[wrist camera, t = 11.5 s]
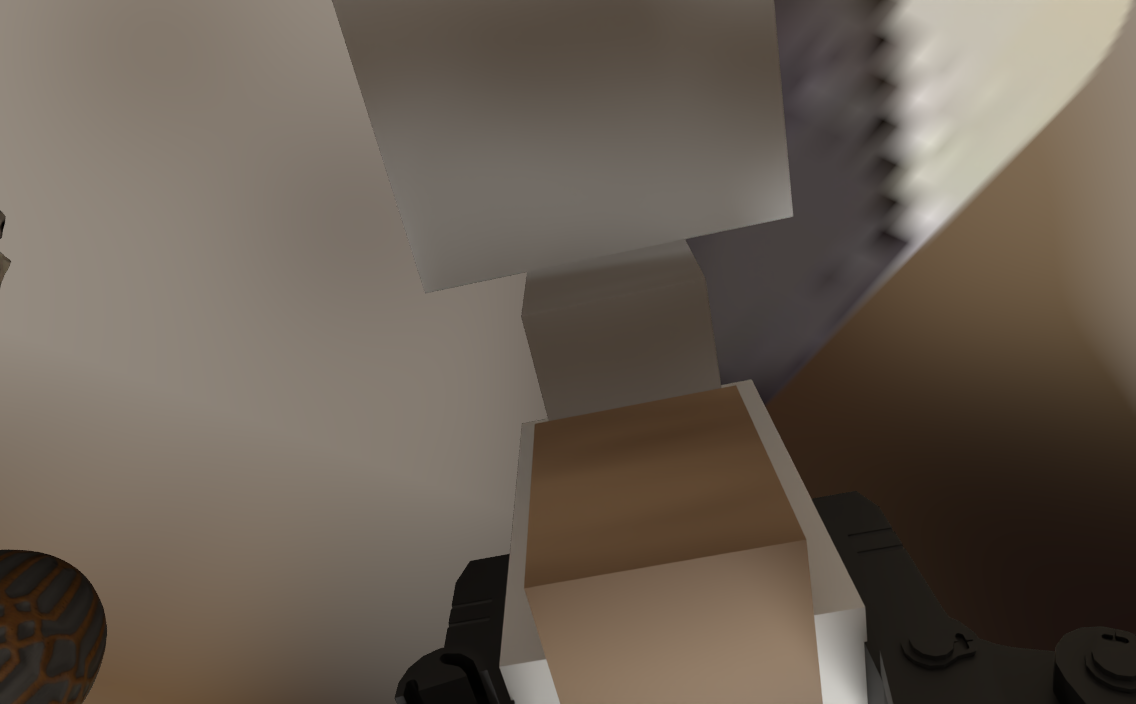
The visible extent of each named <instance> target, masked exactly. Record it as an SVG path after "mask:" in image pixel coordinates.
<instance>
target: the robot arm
mask: <svg viewBox="0 0 1136 704" xmlns="http://www.w3.org/2000/svg"><path fill="white" fill-rule="evenodd" d="M735 385H736V386H737V388H738V391H739V393H740V395H741V397H742V399H743V402H744V404H745V406H746V408H747V410H748V412H749V415H750V417H751V419H752V421H753V423H754V426H755V428H756V430H757V432H758V434H759V437H760V439H761V441H762V443H763V445H764V448H765V450H766V452H767V454H768V456H769V459H770V461H771V463H772V465H773V467H774V469H775V472H776V474H777V476H778V478H779V480H780V483H781V485H782V487H783V489H784V491H785V494H786V496H787V498H788V500H789V502H790V505H791V507H792V509H793V511H794V513H795V515H796V518H797V520H798V522H799V524H800V526H801V529H802V531H803V533H804V535H805V537H806V540H807V550H808V560H809V570H810V580H811V590H812V600H813V610H814V620H815V630H816V640H817V650H818V660H819V670H820V680H821V690H822V700H823V704H1136V635H1134V634H1132V633H1129V632H1127V631H1123V630H1117V629H1112V628H1107V627H1086V628H1079V629H1077V630H1074V631H1072V632H1070V633H1067V634H1065V635H1064V636H1063V637H1062V639H1061V640H1060V641H1059V643H1058V644H1057V645H1056V649H1055V652H1054V651H1044V650H1034V649H1024V648H1015V647H1009V646H1003V645H998V644H994V643H991V642H988V641H985V640H982V639H979V638H978V637H977V635H976V634H975V633H974V632H973V631H971V630H970V629H969V628H967V627H966V626H965V625H963V624H962V623H961V622H959V621H957V620H955V619H952V618H950V617H949V616H948V615H947V614H946V612H945V611H944V610H943V608H942V607H941V605H940V603H939V602H938V600H937V599H936V597H935V595H934V594H933V592H932V591H931V589H930V587H929V586H928V584H927V583H926V581H925V580H924V578H923V576H922V575H921V573H920V572H919V570H918V568H917V567H916V565H915V563H914V562H913V560H912V559H911V557H910V555H909V554H908V552H907V551H906V549H904V548H903V545H902V543H901V541H900V540H899V538H898V537H897V535H896V533H895V532H893V530H892V527H891V525H890V524H889V522H888V520H887V519H886V517H885V516H884V514H883V513H882V511H881V509H880V508H879V506H877V505H875V504H874V503H873V502H871V501H870V500H868V499H867V498H865V497H864V496H862V495H861V494H860V493H858V492H857V491H853V492H848V493H842V494H836V495H830V496H825V497H820V498H813V499H811V498H810V496H809V494H808V492H807V490H806V488H805V486H804V484H803V482H802V480H801V478H800V476H799V474H798V472H797V470H796V468H795V466H794V464H793V462H792V460H791V458H790V456H789V454H788V452H787V450H786V448H785V446H784V444H783V442H782V440H781V438H780V436H779V434H778V432H777V430H776V428H775V426H774V424H773V422H772V420H771V418H770V416H769V414H768V412H767V410H766V408H765V406H764V404H763V402H762V400H761V398H760V396H759V394H758V392H757V390H756V388H755V386H754V384H753V382H752V380H746V381H741V382H736V383H731V384H726V385H721V388H724V387H730V386H735ZM547 421H549V420H548V419H543V420H538V421H532V422H528V423H522V429H521V440H520V450H519V461H518V472H517V473H518V474H517V482H516V494H515V504H514V514H513V525H512V537H511V548H510V554H507V555H501V556H496V557H490V558H485V559H479V560H474V561H470V562H469V564H468V565H467V567H466V568H465V570H464V571H463V573H462V574H461V576H460V577H459V579H458V580H457V582H456V585H455V590H454V596H453V601H452V609H451V613H450V618H449V628H448V629H447V634H446V640H445V646H444V648H440V649H438V650H435V651H433V652H432V653H429V654H427V655H425V656H423V657H422V658H420V659H419V660H418V661H417V662H416V663H414V664H413V665H412V666H411V667H410V668H408V670H407V671H406V673H405V674H404V676H403V677H402V679H401V680H400V682H399V683H398V687H397V691H396V695H395V700H396V702H397V704H560V702H559V698H558V695H557V692H556V689H555V686H554V682H553V679H552V676H551V673H550V670H549V666H548V663H547V660H546V657H545V654H544V651H543V647H542V644H541V641H540V638H539V635H538V631H537V628H536V625H535V622H534V619H533V615H532V612H531V609H530V606H529V603H528V600H527V596H526V593H525V590H524V581H525V565H526V550H527V535H528V519H529V504H530V489H531V473H532V458H533V443H534V427H535V424H536V423H542V422H547Z"/></svg>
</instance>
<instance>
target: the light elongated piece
mask: <svg viewBox="0 0 1136 704" xmlns="http://www.w3.org/2000/svg"><path fill="white" fill-rule="evenodd" d="M332 2H333V5H334V8H335V11H336V14H337V17H338V21H339V24H340V27H341V30H342V33H343V36H344V39H345V43H346V46H347V49H348V52H349V55H350V58H351V62H352V65H353V67H354V71H355V74H356V77H357V80H358V84H359V86H360V90H361V93H362V96H363V99H364V102H365V106H366V109H367V111H368V115H369V118H370V121H371V124H372V128H373V131H374V134H375V137H376V140H377V143H378V146H379V150H380V153H381V156H382V159H383V162H384V165H385V169H386V172H387V175H388V178H389V181H390V184H391V187H392V191H393V193H394V197H395V200H396V203H397V206H398V209H399V212H400V216H401V219H402V222H403V225H404V228H405V231H406V235H407V238H408V241H409V244H410V247H411V250H412V253H413V257H414V260H415V263H416V266H417V269H418V272H419V275H420V279H421V282H422V285H423V288H424V291H425V293H429V292H434V291H439V290H444V289H448V288H453V287H458V286H463V285H467V284H472V283H477V282H482V281H487V280H492V279H496V278H501V277H506V276H511V275H515V274H520V273H525V272H527V277H526V285H525V293H524V300H523V308H522V315H521V317H522V321H523V325H524V329H525V332H526V336H527V340H528V344H529V347H530V351H531V355H532V358H533V362H534V366H535V370H536V374H537V378H538V382H539V385H540V389H541V393H542V397H543V400H544V404H545V408H546V412H547V416H548V420H549V421H547V422H542V423H536V424H535V427H534V443H533V458H532V473H531V489H530V504H529V519H528V535H527V550H526V565H525V581H524V590H525V593H526V596H527V600H528V603H529V606H530V609H531V612H532V615H533V619H534V622H535V625H536V628H537V631H538V635H539V638H540V641H541V644H542V647H543V651H544V654H545V657H546V660H547V663H548V666H549V670H550V673H551V676H552V679H553V682H554V686H555V689H556V692H557V695H558V698H559V702H560V704H823V700H822V690H821V680H820V670H819V660H818V650H817V640H816V630H815V620H814V610H813V600H812V590H811V580H810V570H809V560H808V550H807V540H806V537H805V535H804V533H803V531H802V529H801V526H800V524H799V522H798V520H797V518H796V515H795V513H794V511H793V509H792V507H791V505H790V502H789V500H788V498H787V496H786V494H785V491H784V489H783V487H782V485H781V483H780V480H779V478H778V476H777V474H776V472H775V469H774V467H773V465H772V463H771V461H770V459H769V456H768V454H767V452H766V450H765V448H764V445H763V443H762V441H761V439H760V437H759V434H758V432H757V430H756V428H755V426H754V423H753V421H752V419H751V417H750V415H749V412H748V410H747V408H746V406H745V404H744V402H743V399H742V397H741V395H740V393H739V391H738V388H737V386H736V385H735V386H730V387H724V388H721V382H720V375H719V368H718V361H717V354H716V347H715V341H714V334H713V327H712V320H711V313H710V306H709V299H708V292H707V286H706V279H705V277H704V275H703V273H702V271H701V269H700V267H699V265H698V263H697V262H696V260H695V258H694V256H693V254H692V252H691V250H690V248H689V246H688V244H687V242H686V240H685V239H688V238H692V237H697V236H702V235H707V234H712V233H716V232H721V231H726V230H731V229H735V228H740V227H745V226H750V225H755V224H759V223H764V222H769V221H774V220H779V219H783V218H788V217H793V210H792V199H791V187H790V176H789V165H788V154H787V142H786V131H785V120H784V109H783V97H782V86H781V75H780V64H779V52H778V41H777V30H776V19H775V7H774V0H332Z"/></svg>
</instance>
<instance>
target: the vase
mask: <svg viewBox="0 0 1136 704" xmlns="http://www.w3.org/2000/svg"><path fill="white" fill-rule="evenodd" d="M106 637H107V625H106V619H105V613H104V609H103V606H102V603H101V601H100V599H99V597H98V595H97V593H96V591H95V589H94V587H93V586H92V584H91V583H90V581H89V580H88V579H87V578H86V577H85V576H84V575H83V574H82V573H81V572H80V571H79V570H78V569H76V568H75V567H73V566H72V565H71V564H69V563H67V562H65V561H63V560H61V559H59V558H56V557H54V556H51V555H48V554H44V553H40V552H34V551H25V550H0V704H82V703H83V702H84V700H85V699H86V697H87V695H88V693H89V691H90V690H91V688H92V686H93V684H94V682H95V679H96V677H97V674H98V672H99V669H100V666H101V663H102V659H103V655H104V651H105V646H106Z"/></svg>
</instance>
